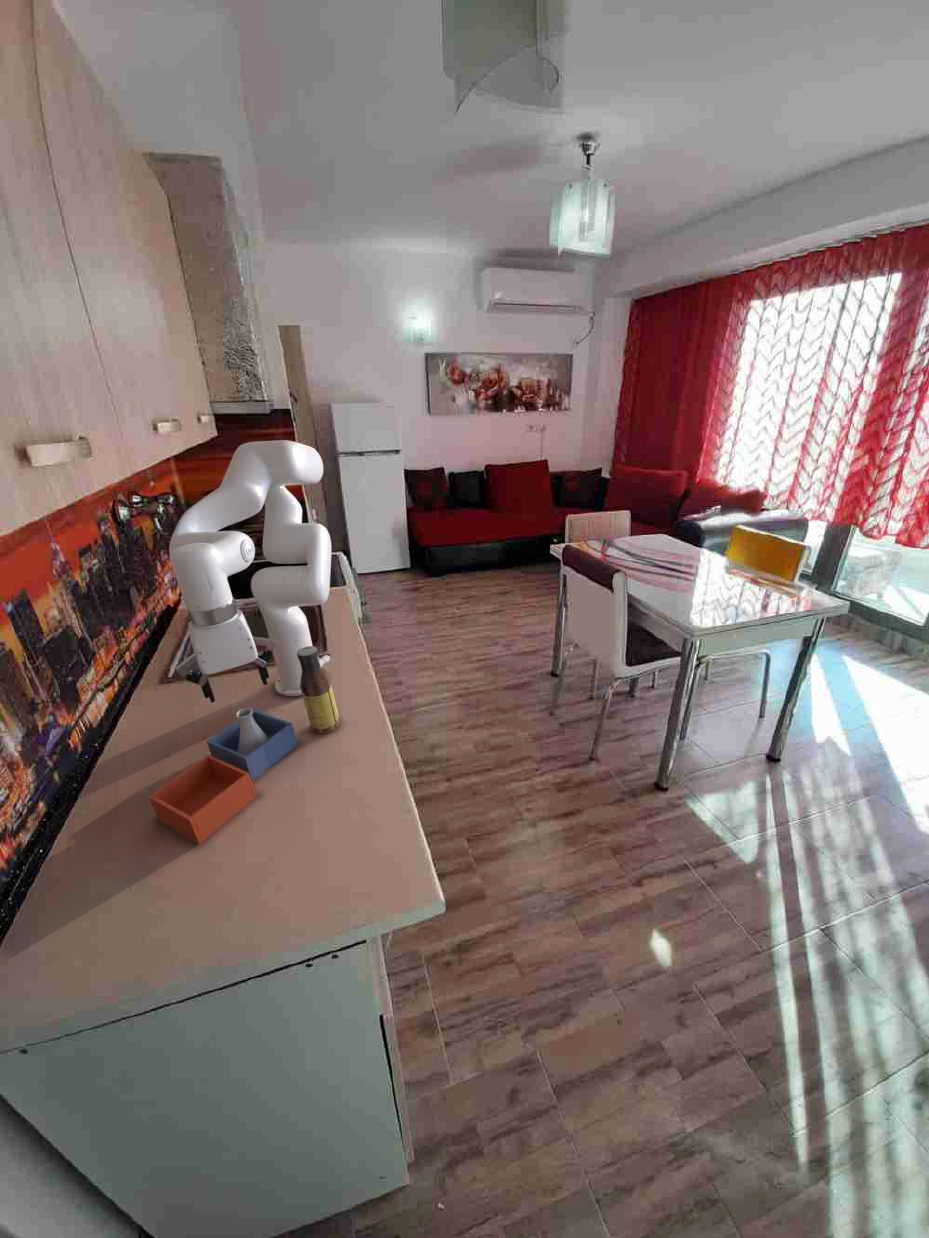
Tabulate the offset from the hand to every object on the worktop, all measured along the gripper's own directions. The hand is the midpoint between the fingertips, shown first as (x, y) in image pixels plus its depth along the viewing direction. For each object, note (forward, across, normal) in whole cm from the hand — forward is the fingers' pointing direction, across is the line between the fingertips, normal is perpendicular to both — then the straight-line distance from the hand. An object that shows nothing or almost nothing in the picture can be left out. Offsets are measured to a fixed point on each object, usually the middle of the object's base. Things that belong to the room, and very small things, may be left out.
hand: (239, 690), depth 93 cm
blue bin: (+15, +1, +1) cm, 15 cm away
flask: (+15, +1, +1) cm, 15 cm away
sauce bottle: (+16, -14, 0) cm, 21 cm away
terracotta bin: (+15, +11, +11) cm, 22 cm away
